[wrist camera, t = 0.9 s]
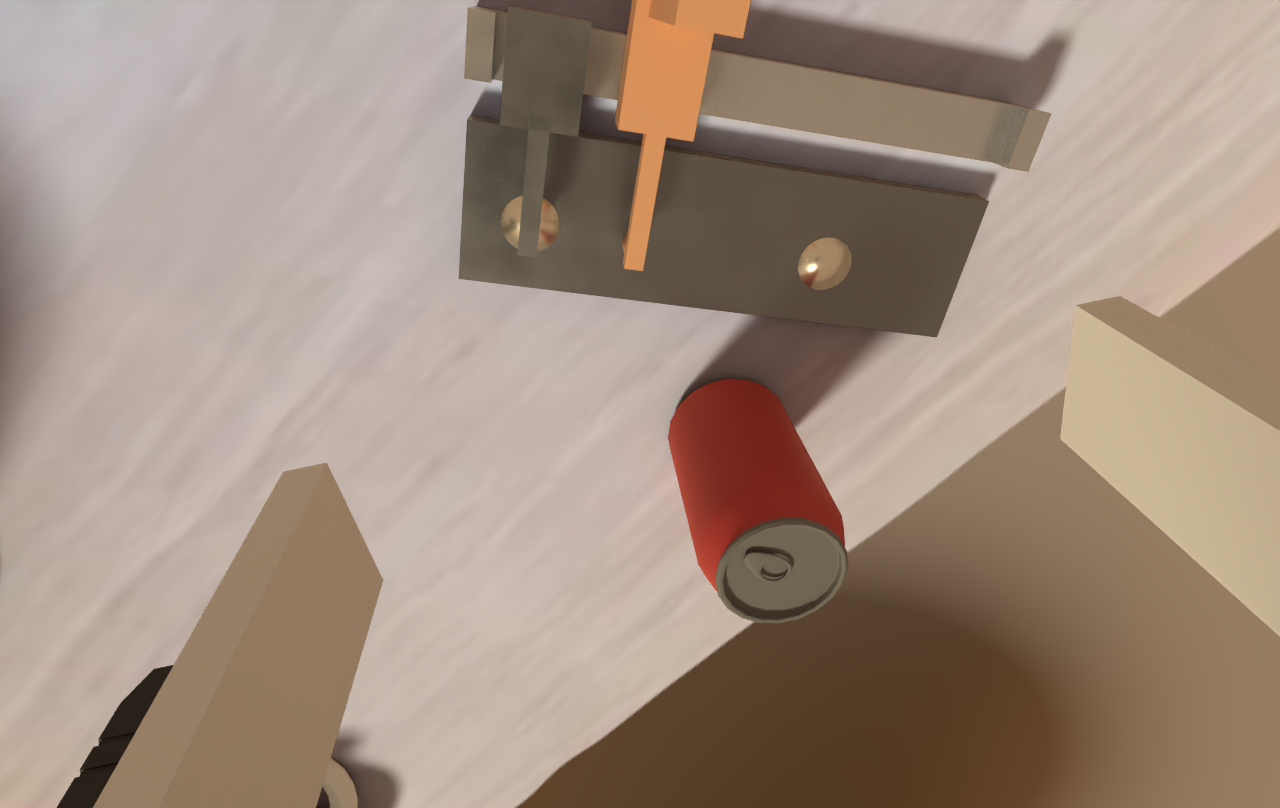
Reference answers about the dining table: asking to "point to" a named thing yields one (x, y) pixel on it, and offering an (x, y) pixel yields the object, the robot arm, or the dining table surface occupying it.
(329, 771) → the mug
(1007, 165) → the beam
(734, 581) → the beer can
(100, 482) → the dining table surface
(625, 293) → the hole plate
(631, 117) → the block
